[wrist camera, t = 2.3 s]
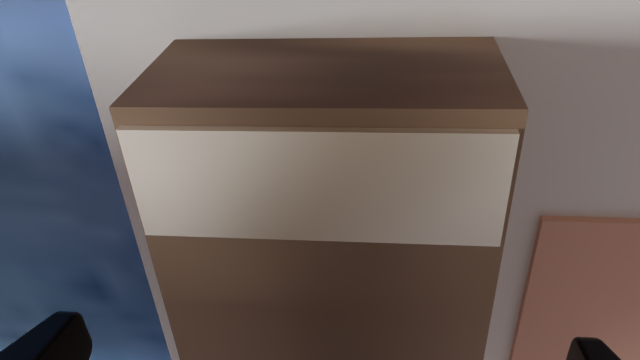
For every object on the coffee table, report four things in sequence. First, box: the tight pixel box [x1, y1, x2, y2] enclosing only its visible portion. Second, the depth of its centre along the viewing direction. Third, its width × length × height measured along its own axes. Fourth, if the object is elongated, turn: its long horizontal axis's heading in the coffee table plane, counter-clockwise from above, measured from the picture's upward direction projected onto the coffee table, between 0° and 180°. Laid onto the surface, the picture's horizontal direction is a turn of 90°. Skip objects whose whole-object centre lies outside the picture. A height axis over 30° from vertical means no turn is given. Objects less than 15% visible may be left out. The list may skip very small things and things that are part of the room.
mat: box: [65, 0, 640, 360], centre depth 13 cm, size 21×15×1 cm
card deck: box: [109, 37, 529, 360], centre depth 11 cm, size 6×9×3 cm, turn 3°
